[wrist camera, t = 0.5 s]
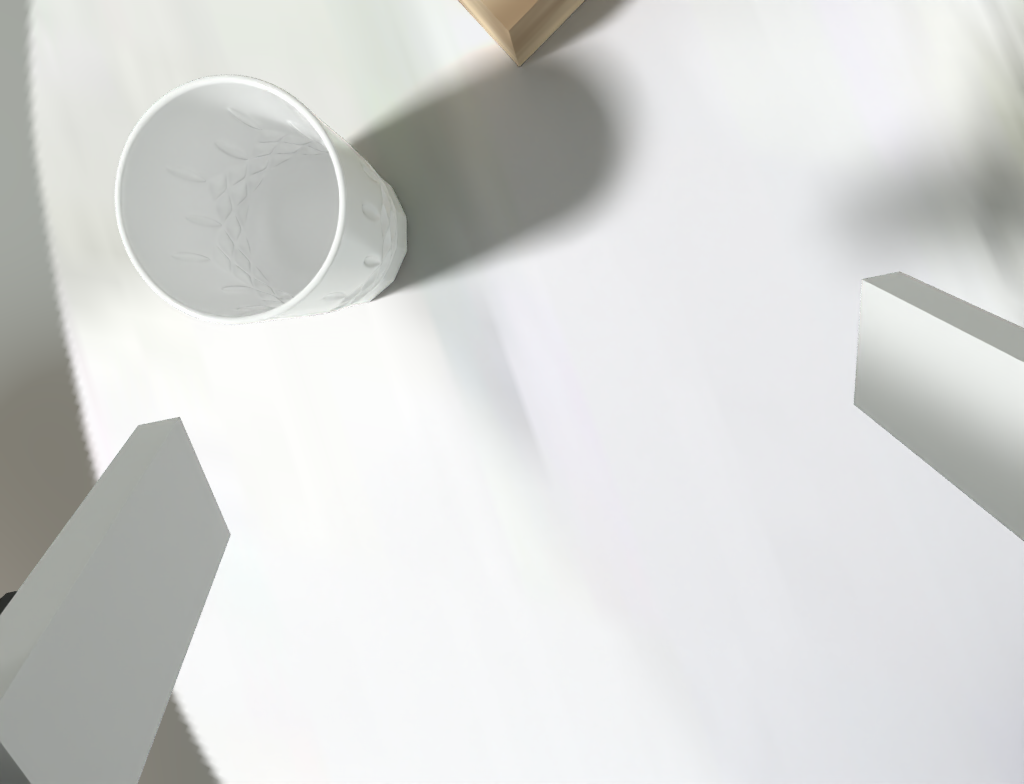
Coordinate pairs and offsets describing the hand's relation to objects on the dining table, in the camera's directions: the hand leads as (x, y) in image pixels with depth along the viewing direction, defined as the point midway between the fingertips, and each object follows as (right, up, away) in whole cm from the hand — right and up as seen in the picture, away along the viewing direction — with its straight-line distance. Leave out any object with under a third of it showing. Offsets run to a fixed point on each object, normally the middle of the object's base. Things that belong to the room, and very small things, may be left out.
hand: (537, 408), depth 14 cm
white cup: (-8, +8, +19) cm, 22 cm away
